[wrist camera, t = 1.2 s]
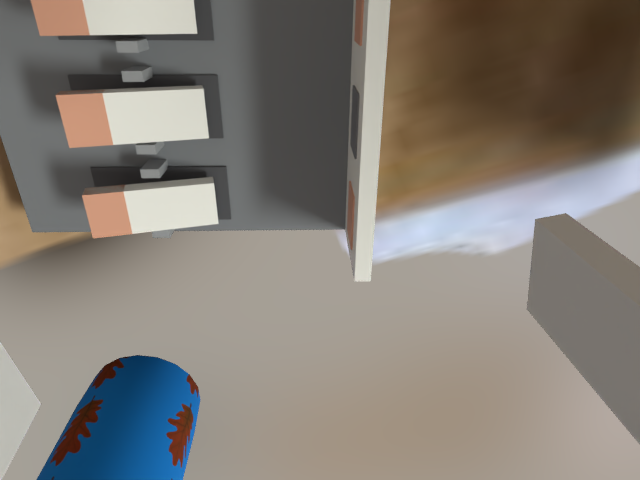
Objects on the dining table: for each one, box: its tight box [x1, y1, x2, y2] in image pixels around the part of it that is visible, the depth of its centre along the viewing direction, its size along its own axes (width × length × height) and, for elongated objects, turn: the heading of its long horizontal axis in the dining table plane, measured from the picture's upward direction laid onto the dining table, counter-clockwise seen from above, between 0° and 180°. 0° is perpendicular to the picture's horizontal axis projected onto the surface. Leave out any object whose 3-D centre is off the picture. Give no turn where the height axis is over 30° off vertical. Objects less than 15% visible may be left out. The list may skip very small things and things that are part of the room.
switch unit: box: [0, 0, 391, 281], centre depth 28 cm, size 24×18×10 cm
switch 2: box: [56, 85, 209, 148], centre depth 27 cm, size 8×3×1 cm, turn 90°
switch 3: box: [82, 177, 219, 238], centre depth 30 cm, size 8×3×1 cm, turn 90°
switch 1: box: [31, 0, 197, 36], centre depth 25 cm, size 8×3×1 cm, turn 90°
